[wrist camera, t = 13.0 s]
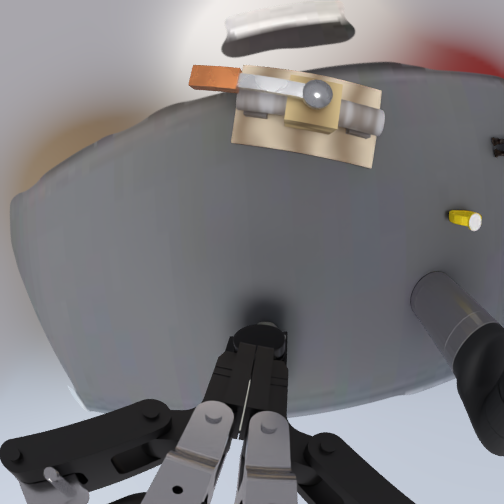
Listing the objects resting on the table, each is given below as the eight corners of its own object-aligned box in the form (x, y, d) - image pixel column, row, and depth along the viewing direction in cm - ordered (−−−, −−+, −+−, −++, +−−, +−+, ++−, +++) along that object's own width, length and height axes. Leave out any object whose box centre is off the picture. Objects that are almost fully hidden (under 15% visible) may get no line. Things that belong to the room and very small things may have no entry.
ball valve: (236, 296, 46) (209, 368, 29) (288, 297, 45) (286, 372, 28) (242, 375, 51) (225, 447, 35) (285, 377, 50) (281, 451, 34)
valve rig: (378, 93, 33) (406, 74, 22) (368, 168, 37) (395, 171, 26) (244, 68, 34) (230, 40, 24) (233, 143, 38) (214, 137, 28)
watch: (469, 205, 36) (489, 213, 30) (468, 221, 36) (487, 230, 31) (443, 206, 36) (463, 213, 31) (443, 222, 37) (461, 232, 32)
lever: (327, 113, 25) (330, 109, 23) (193, 91, 26) (187, 87, 24) (332, 88, 24) (335, 83, 22) (199, 68, 25) (193, 62, 23)
